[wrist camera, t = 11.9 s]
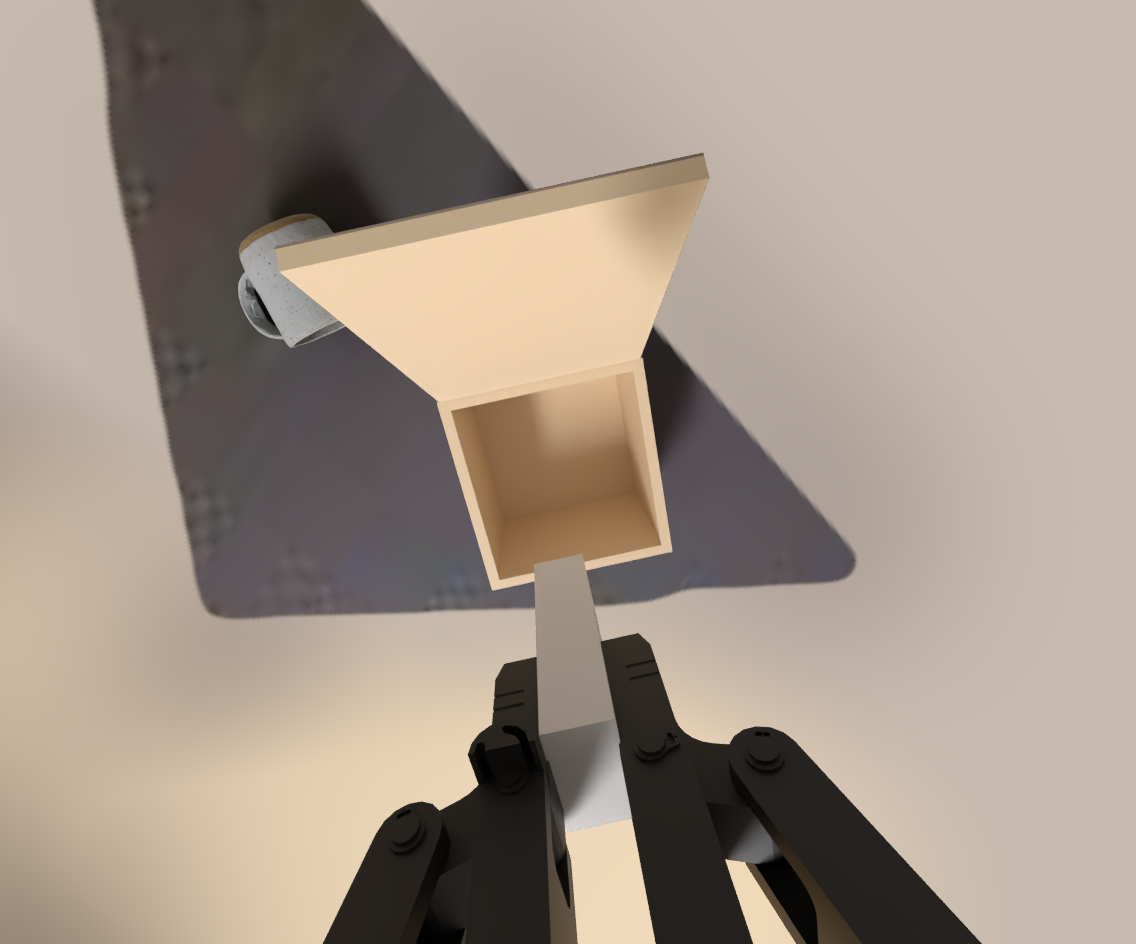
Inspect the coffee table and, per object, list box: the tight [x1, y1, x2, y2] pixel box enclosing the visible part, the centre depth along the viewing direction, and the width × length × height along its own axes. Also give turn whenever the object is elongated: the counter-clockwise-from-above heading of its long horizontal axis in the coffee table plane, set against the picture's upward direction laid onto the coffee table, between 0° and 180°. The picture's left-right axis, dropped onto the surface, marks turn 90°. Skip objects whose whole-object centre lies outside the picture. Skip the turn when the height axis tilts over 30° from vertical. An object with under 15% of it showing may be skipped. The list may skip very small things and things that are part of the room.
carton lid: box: [275, 153, 709, 402], centre depth 29 cm, size 21×15×1 cm
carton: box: [437, 357, 672, 590], centre depth 48 cm, size 16×15×12 cm
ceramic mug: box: [238, 214, 346, 348], centre depth 44 cm, size 11×8×8 cm
